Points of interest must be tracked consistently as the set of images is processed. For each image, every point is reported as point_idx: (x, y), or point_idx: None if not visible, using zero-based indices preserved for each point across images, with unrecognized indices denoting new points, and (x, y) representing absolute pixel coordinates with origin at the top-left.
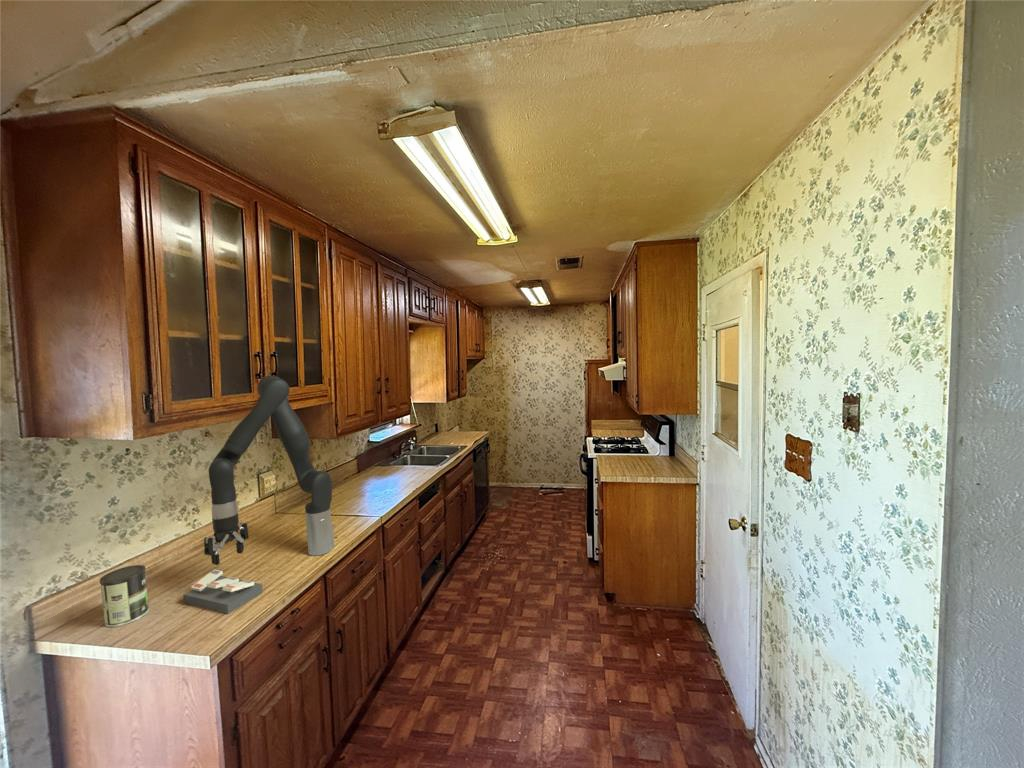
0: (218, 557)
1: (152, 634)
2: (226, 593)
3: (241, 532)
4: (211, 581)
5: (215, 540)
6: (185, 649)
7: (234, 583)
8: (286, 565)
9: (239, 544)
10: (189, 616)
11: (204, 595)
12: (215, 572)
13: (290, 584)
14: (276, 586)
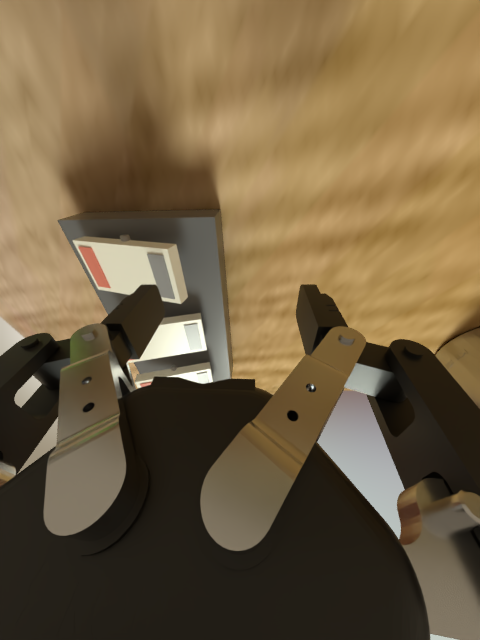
0: (144, 341)
1: (7, 288)
2: None
3: (414, 422)
4: None
5: (64, 417)
6: None
7: (173, 375)
8: (374, 326)
9: (309, 349)
10: (89, 300)
11: (117, 304)
12: (160, 282)
13: (277, 387)
14: (262, 371)
